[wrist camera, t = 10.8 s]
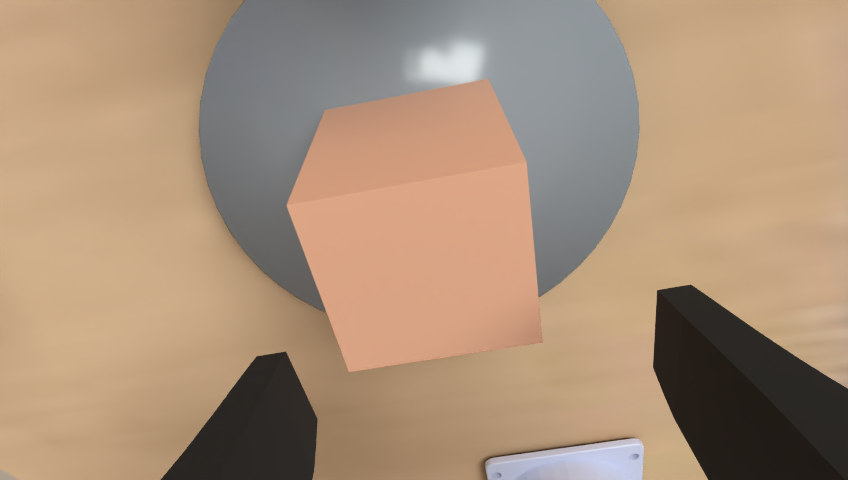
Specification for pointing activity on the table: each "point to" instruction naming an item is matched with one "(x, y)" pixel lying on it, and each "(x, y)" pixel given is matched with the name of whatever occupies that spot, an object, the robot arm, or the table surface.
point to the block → (419, 227)
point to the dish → (409, 73)
